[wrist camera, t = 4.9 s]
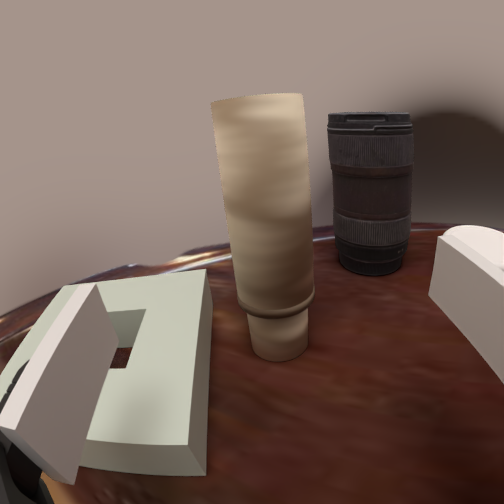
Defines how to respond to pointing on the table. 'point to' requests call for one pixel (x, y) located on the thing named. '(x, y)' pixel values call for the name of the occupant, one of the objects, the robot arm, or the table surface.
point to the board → (146, 374)
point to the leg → (268, 216)
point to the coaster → (482, 242)
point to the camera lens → (371, 188)
